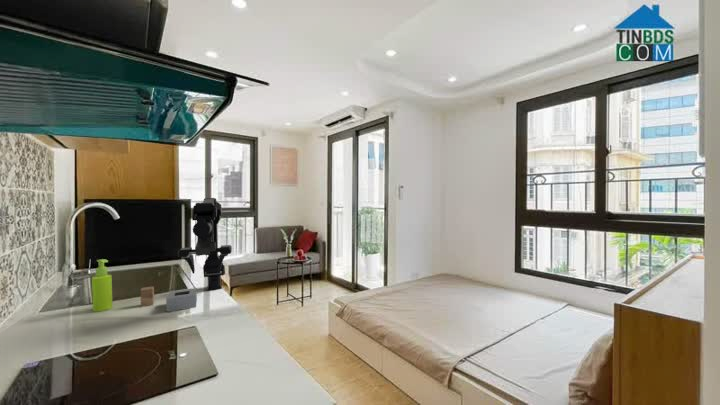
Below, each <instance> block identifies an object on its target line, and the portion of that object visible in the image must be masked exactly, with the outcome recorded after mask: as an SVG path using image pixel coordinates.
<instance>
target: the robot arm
mask: <svg viewBox="0 0 720 405" xmlns="http://www.w3.org/2000/svg"><path fill="white" fill-rule="evenodd" d="M191 217H192V218H191V220H192V221H196V223H195V224H194V225H193V227H192V233H193V234H194V235H195V237H197V239H196V240H197V242H196V244H195V247H194V248H195V249H193V248H192V247H181V248H180V249H178V251H177V258H181V259H182V260H185V261H186V263H187V264H188V266H189V268H190V270H191V272H192V274H195V271H196V270H195V259H194V255H195V256H197V257H200V256H207V257H206V259H205V261H204V264H203V268H202V269H203V272H202V273H203V278H207V286H206V291H213V290H220V289H223V285H222V282H221V281H222V279H221V277H222V276H224V275H226V267H225V265H224V263H223V262H224V259H225V257H228V255H231V254H232V252H233V251H232V250H233V247H232V245H231V244H224V245H221V246H220V247H219V246H218V245H219V242H218V234H219V233H218V225H219V223H220V221H221V220H222V218H221V217H223V209H222V204H220V203H219V202H218V201H217V198H215V197H204V198H203V201H202V202H195V204H194V205H193V210H192V216H191Z"/></svg>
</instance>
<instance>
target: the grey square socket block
mask: <svg viewBox="0 0 720 405" xmlns="http://www.w3.org/2000/svg"><path fill="white" fill-rule="evenodd" d="M197 290H198V289H197V287H193V288H187V289H186V288H185V289H179V290H171V291H169V292H168V294H167V297H166V299H165V301H166V302H165V303H166V304H165V306H166V312H175V311H181V310H187V309H192V308H193V309H194V308H196V307H197V303H198V302H197V301H198V291H197Z"/></svg>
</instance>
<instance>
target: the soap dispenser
mask: <svg viewBox="0 0 720 405" xmlns="http://www.w3.org/2000/svg"><path fill="white" fill-rule="evenodd" d="M96 262H98V266H97V268H95V276H93V277H92V278H91V289H92V311H93V312H94V313H96V312H97V313H98V312H99V313H100V312H104V311H109V310H111V309H112V308H113V283H112V281H113V280H112V279H113V278H112V274H108V267H107V266H106V265H105V263H109V260H107V259H104V258H102V259H96Z"/></svg>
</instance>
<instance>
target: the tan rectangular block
mask: <svg viewBox="0 0 720 405" xmlns="http://www.w3.org/2000/svg"><path fill="white" fill-rule="evenodd" d="M154 304H155V288H154V286H147V287H141V289H140V307H141V308H142V307H150V306H153V305H154Z"/></svg>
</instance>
